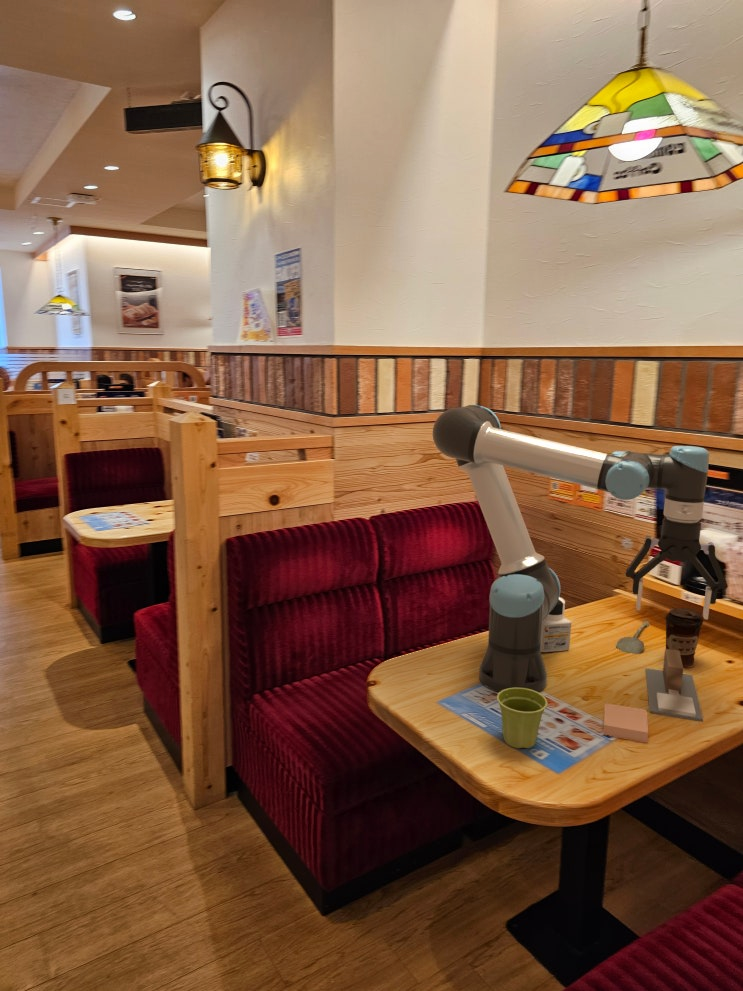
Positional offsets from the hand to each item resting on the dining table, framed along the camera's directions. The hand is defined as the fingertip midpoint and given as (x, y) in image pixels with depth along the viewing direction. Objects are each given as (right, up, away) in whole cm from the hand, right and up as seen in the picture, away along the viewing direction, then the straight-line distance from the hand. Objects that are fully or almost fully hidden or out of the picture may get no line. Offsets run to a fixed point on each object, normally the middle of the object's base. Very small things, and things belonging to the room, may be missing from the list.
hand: (671, 612), depth 147 cm
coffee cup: (+9, -15, +15) cm, 23 cm away
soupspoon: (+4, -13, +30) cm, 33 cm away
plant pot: (-37, -22, -18) cm, 47 cm away
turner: (0, -17, -1) cm, 17 cm away
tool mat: (0, -18, 0) cm, 18 cm away
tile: (-14, -19, -10) cm, 25 cm away
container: (-21, -13, +25) cm, 35 cm away
